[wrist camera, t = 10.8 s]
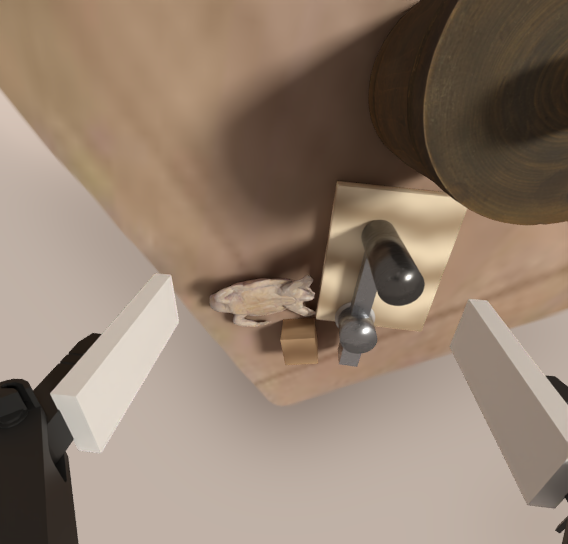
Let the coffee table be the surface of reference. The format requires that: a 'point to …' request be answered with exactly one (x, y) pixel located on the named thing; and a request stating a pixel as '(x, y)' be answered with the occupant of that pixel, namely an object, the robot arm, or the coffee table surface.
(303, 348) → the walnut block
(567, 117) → the wooden container
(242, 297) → the beige animal figurine
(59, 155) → the coffee table surface
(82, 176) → the coffee table surface
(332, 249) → the board
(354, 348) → the lever
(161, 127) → the coffee table surface
